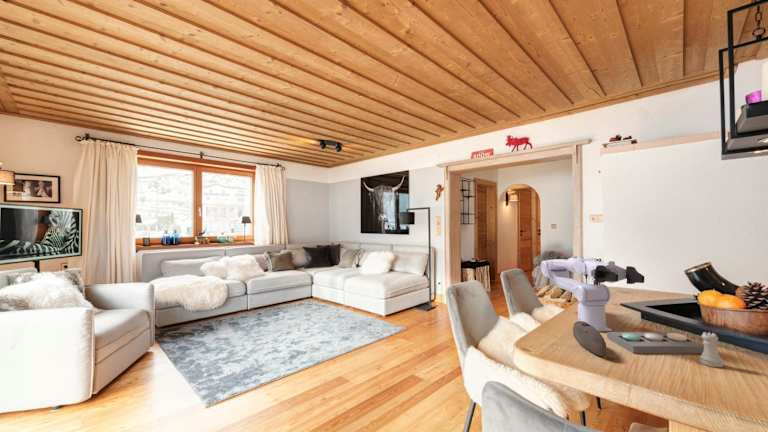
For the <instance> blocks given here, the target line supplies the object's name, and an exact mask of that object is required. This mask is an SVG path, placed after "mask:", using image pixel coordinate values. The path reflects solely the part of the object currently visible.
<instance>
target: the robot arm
mask: <svg viewBox="0 0 768 432" xmlns="http://www.w3.org/2000/svg"><path fill="white" fill-rule="evenodd" d="M540 271H541V273H542V276H543V277H545V278H548V279H549V280H550V281H551V282H552V283H553V284H554V286H555V287H557V288H560V289H562V290H565V291H567V292H570V293H572V294H573V298H575V299H576V300H577V301H578V305H577V321H583V322H586V323H588V324H590V325H591V326H593V327H594V328H595V329H596V330H597V331H598V332H613V329H611V328H609V327H608V326H607V318H606V317H607V316H606V305H608V303H609V301H610V300H611V291H610V289H609V287H608V286H607V285H606V284H605V283H611V284H612V283H617V282H620V281H623V280H626V285H633V284H634V285H635V284H636V283H637V284H639V283H640V284H644V283H645V275H643V274H641V273H640V272H639V271H638V270H637V268H636V267H634V266H631V265H630V266H629V265H627V266H626V268H624V267H621V266H619V265H616V262H615V261H614V260H613V261H612V260H608V261H607V263H606V262H601V261H597V259H596V258H593V257H590V258H584V256H583V257H582V256H579V257H578V256H576V255H575V256H574V255H573V256H571V257H569V258H567V259H566V258H565V259H562V258H558V259H557V258H555V259H545V260H542V261H541V263H540ZM570 272H571V273H572V272H573V273H577V275H579V276H580V275H587V276H589V277H593V278H594V281H595V282H596V283H600V284H590V283H585V282H582V281H579V280H577V279H574V278H570ZM601 283H602V284H601ZM603 283H604V284H603Z"/></svg>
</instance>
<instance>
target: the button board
mask: <svg viewBox="0 0 768 432" xmlns="http://www.w3.org/2000/svg"><path fill="white" fill-rule="evenodd" d="M623 333H631V334H636V335H639V336H640V341H639V342H632V341H627V340H624V339H623V338H622V334H623ZM645 333H654V334H659V335H662V336H663V341H662V342H655V341H650V340H647V339H645V336H644V334H645ZM667 333H675V332H673V331H606V338H607V339H608V340H609V341H612V342H613V343H614V344H617V346H619V347H622V348H624V349H625V350H626V351H629V352H630V353H632V354H702V353H703V351H704V343H701V342H699V341H696V340H693V339H691V338H689V337H686V339H687V341H686V342H679V341H673V340H670V339H668V338H667Z"/></svg>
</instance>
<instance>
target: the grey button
mask: <svg viewBox="0 0 768 432" xmlns="http://www.w3.org/2000/svg"><path fill="white" fill-rule="evenodd" d="M644 336H645V339H647V340H650V341H655V342H662V341H663V336H662V335H659V334H654V333H645V334H644Z"/></svg>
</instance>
